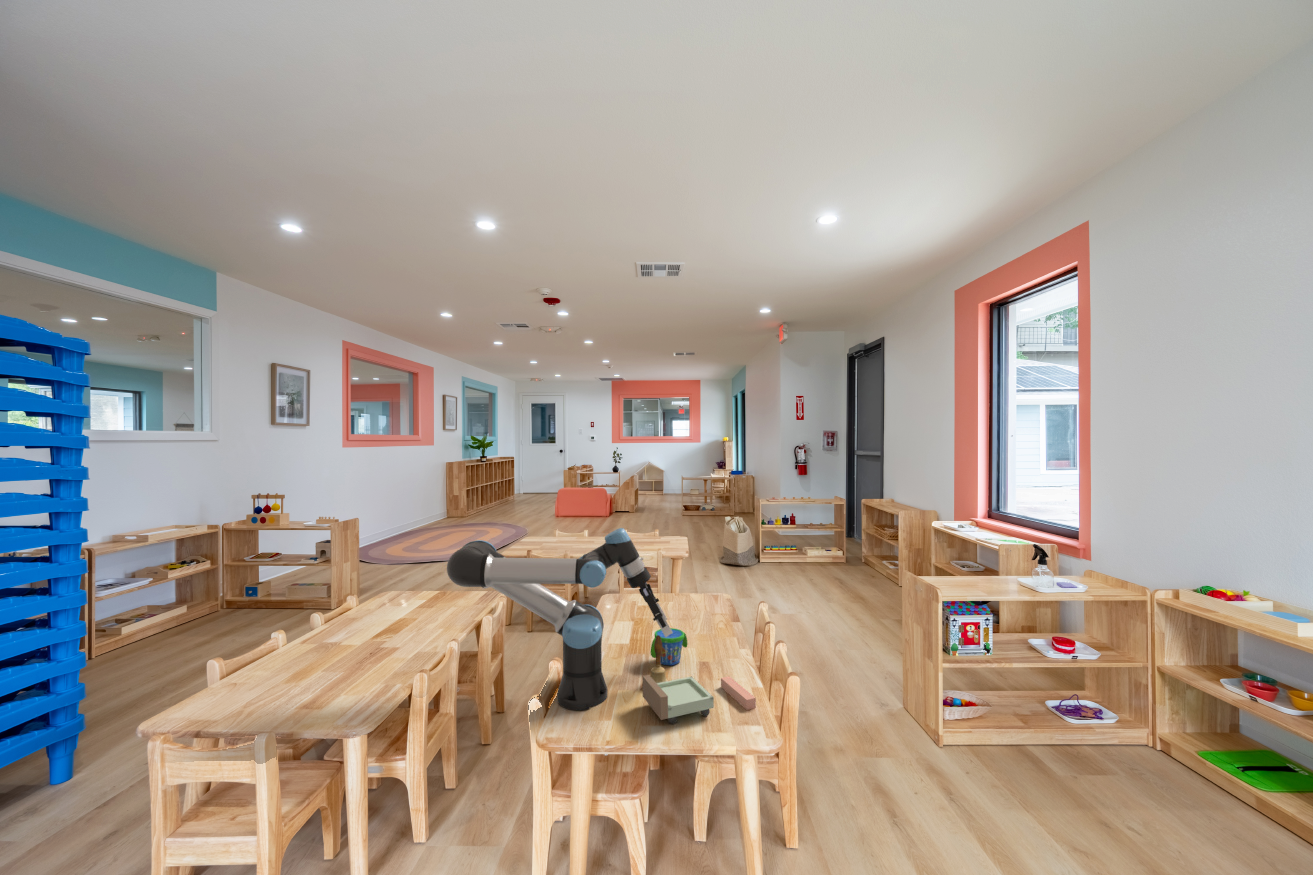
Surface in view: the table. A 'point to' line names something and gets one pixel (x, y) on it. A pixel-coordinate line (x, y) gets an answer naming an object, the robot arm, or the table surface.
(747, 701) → the track
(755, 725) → the table surface
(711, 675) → the table surface
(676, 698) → the pale green tray
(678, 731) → the table surface
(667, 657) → the snack cup
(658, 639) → the hand bell
